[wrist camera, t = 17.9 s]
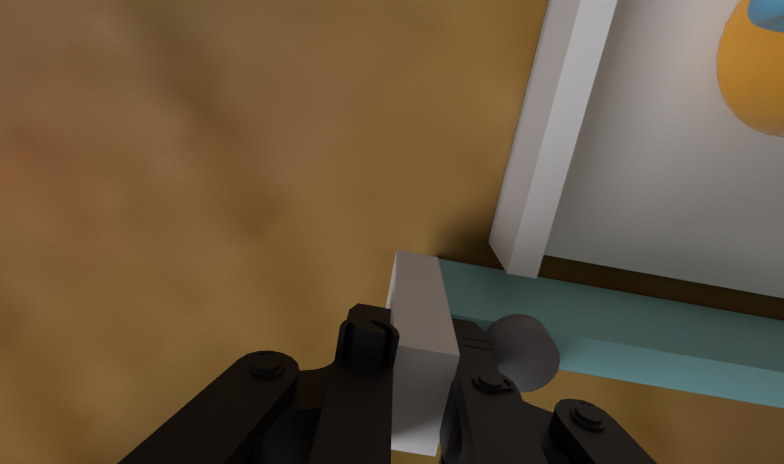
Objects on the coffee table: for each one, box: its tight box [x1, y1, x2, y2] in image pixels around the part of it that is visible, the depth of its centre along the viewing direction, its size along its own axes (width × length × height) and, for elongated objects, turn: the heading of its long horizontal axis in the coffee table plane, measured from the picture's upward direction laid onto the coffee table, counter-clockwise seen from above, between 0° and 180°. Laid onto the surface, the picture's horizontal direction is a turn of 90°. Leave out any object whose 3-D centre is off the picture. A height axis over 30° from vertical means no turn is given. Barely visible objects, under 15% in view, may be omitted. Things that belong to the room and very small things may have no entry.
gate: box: [438, 259, 784, 408], centre depth 16 cm, size 18×2×6 cm, turn 80°
